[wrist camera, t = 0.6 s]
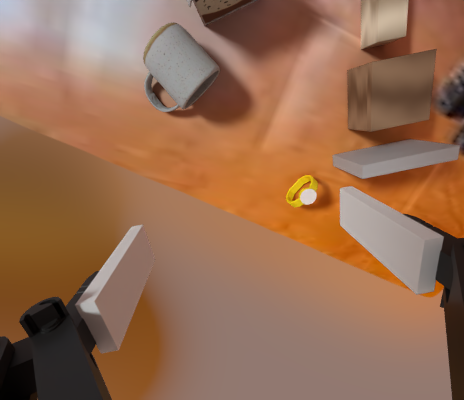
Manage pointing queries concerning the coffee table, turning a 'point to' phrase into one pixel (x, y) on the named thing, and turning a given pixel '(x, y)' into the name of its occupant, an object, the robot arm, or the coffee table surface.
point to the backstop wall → (394, 157)
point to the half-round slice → (217, 8)
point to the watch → (303, 192)
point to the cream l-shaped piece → (382, 21)
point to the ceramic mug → (178, 67)
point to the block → (391, 92)
